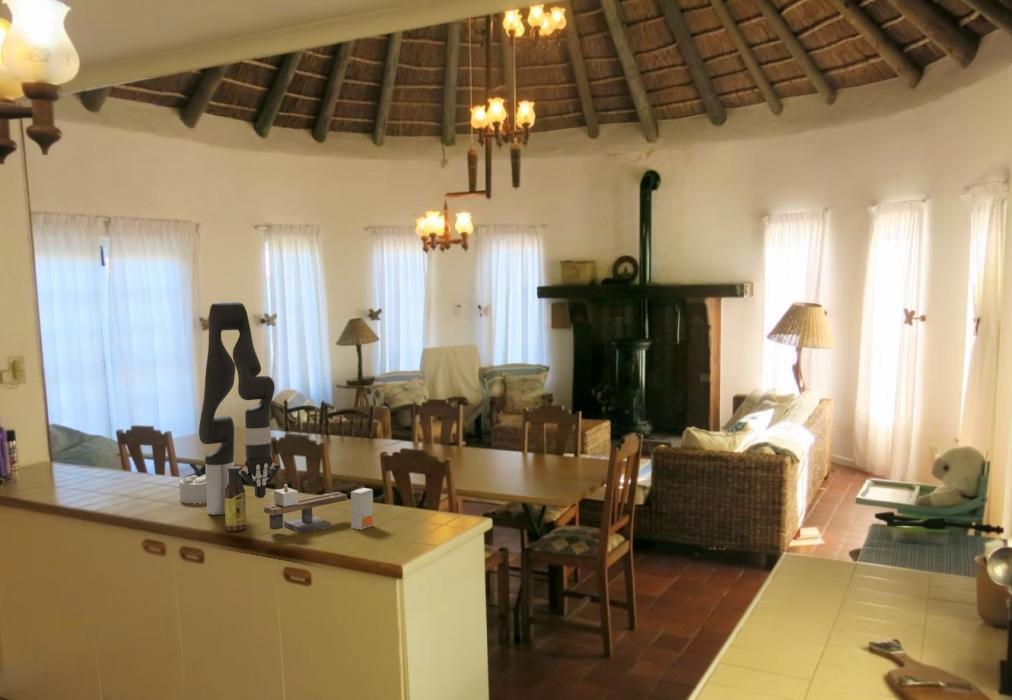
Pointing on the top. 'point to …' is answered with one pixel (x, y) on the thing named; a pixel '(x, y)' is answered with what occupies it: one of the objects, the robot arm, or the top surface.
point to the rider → (286, 496)
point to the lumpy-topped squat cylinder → (193, 489)
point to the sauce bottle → (235, 501)
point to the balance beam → (303, 513)
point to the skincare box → (362, 508)
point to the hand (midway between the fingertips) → (260, 497)
